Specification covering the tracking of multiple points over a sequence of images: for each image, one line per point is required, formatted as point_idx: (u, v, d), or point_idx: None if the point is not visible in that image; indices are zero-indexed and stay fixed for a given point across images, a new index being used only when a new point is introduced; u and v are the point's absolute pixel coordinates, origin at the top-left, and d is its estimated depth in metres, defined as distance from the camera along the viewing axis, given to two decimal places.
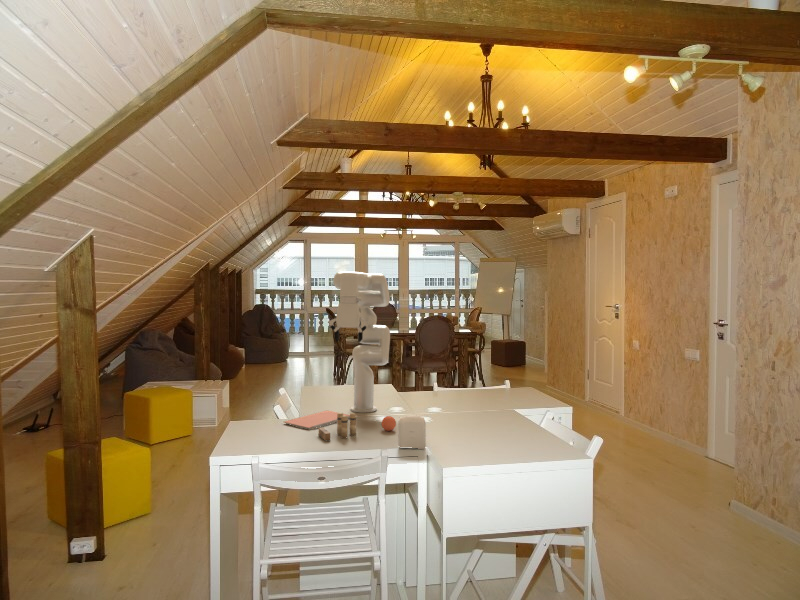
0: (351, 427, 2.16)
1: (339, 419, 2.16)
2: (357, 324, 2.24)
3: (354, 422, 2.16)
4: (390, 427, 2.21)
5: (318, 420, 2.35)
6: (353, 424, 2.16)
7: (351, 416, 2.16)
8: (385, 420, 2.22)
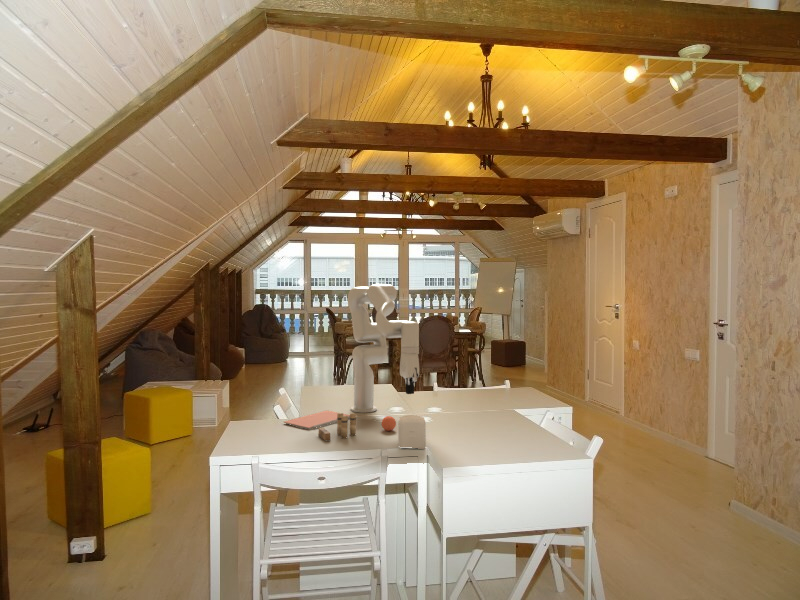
0: (351, 427, 2.16)
1: (339, 419, 2.16)
2: None
3: (354, 422, 2.16)
4: (390, 427, 2.21)
5: (318, 420, 2.35)
6: (353, 424, 2.16)
7: (351, 416, 2.16)
8: (385, 420, 2.22)
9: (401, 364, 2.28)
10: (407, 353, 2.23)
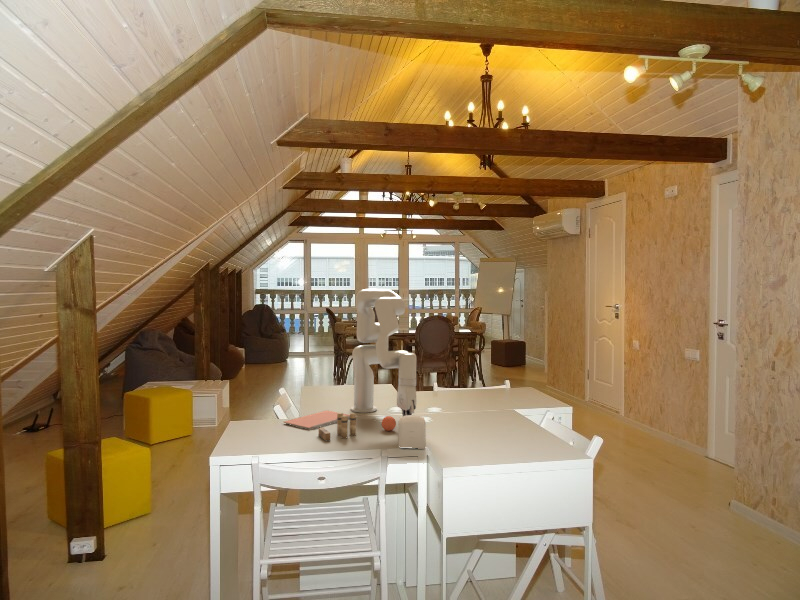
0: (351, 427, 2.16)
1: (339, 419, 2.16)
2: None
3: (354, 422, 2.16)
4: (390, 427, 2.21)
5: (318, 420, 2.35)
6: (353, 424, 2.16)
7: (351, 416, 2.16)
8: (385, 420, 2.22)
9: (398, 395, 2.28)
10: (404, 385, 2.23)
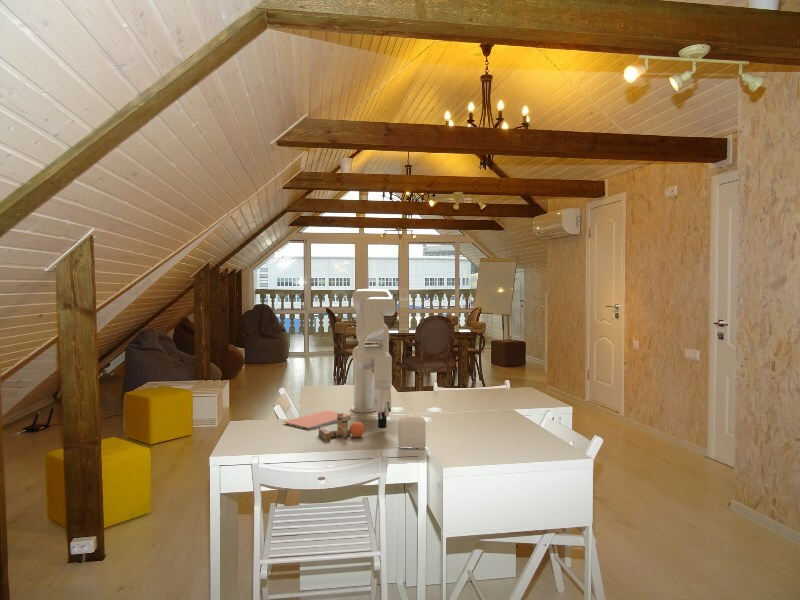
0: None
1: (339, 419, 2.16)
2: None
3: (338, 434, 2.13)
4: (359, 433, 2.11)
5: (318, 420, 2.35)
6: (339, 435, 2.13)
7: None
8: (362, 424, 2.13)
9: (373, 397, 2.23)
10: (379, 387, 2.19)
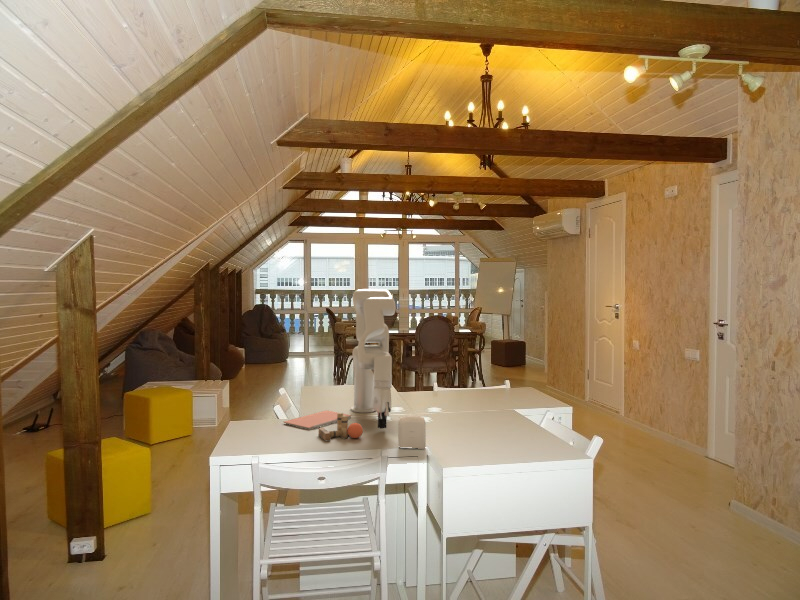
0: None
1: (339, 419, 2.16)
2: None
3: (338, 434, 2.13)
4: (358, 436, 2.10)
5: (318, 420, 2.35)
6: (339, 435, 2.13)
7: None
8: (358, 427, 2.10)
9: (373, 397, 2.23)
10: (379, 387, 2.19)
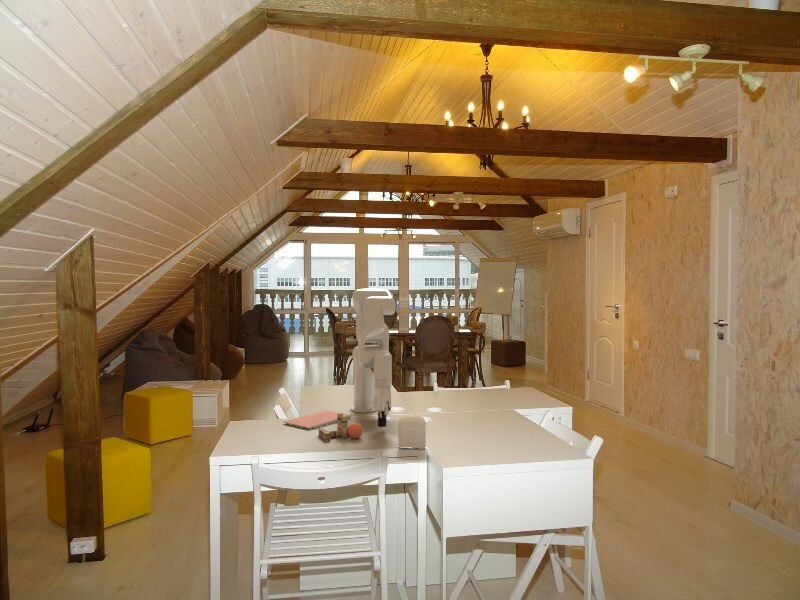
0: None
1: (339, 419, 2.16)
2: None
3: (338, 434, 2.13)
4: (358, 436, 2.10)
5: (318, 420, 2.35)
6: (339, 435, 2.13)
7: None
8: (358, 427, 2.10)
9: (373, 396, 2.24)
10: (379, 386, 2.19)
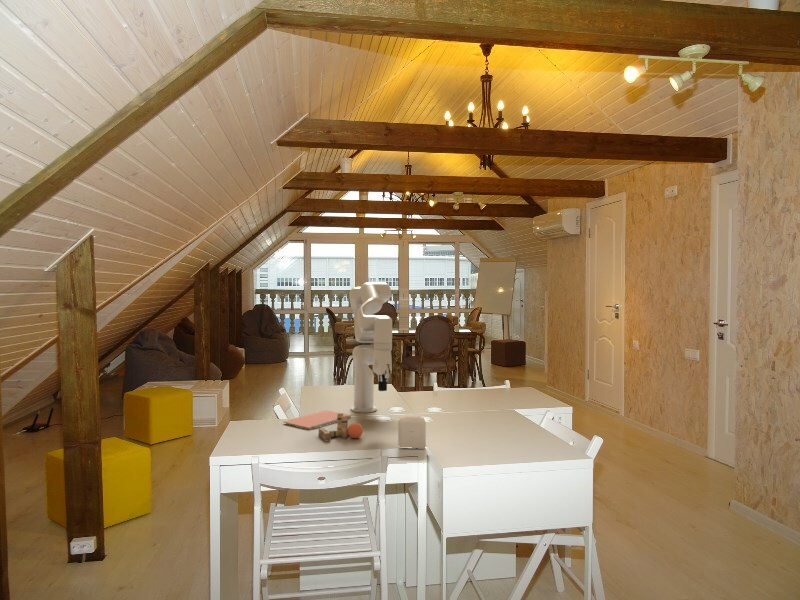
0: None
1: (339, 419, 2.16)
2: None
3: (338, 434, 2.13)
4: (358, 436, 2.10)
5: (318, 420, 2.35)
6: (339, 435, 2.13)
7: None
8: (358, 427, 2.10)
9: (374, 360, 2.23)
10: (379, 349, 2.18)
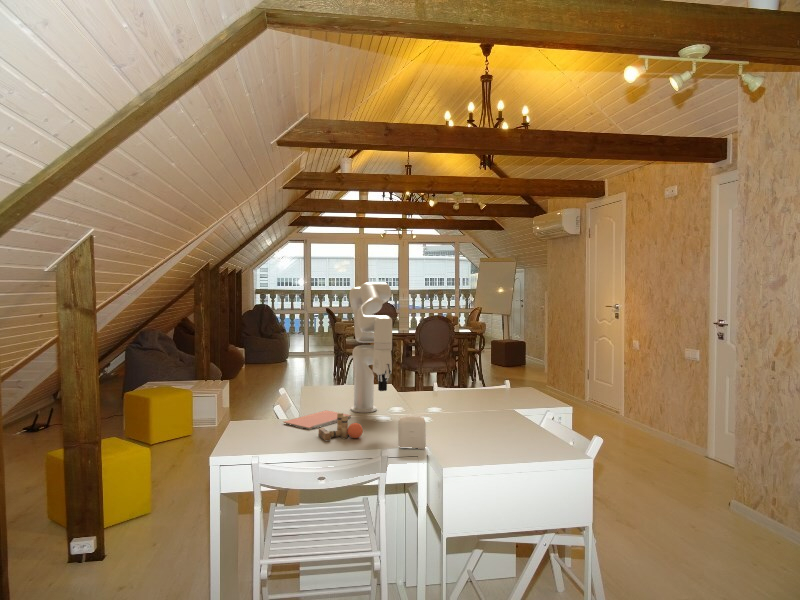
0: None
1: (339, 419, 2.16)
2: None
3: (338, 434, 2.13)
4: (358, 436, 2.10)
5: (318, 420, 2.35)
6: (339, 435, 2.13)
7: None
8: (358, 427, 2.10)
9: (374, 360, 2.23)
10: (379, 349, 2.18)
